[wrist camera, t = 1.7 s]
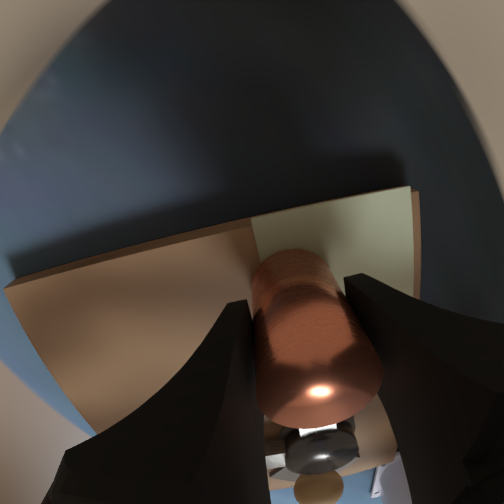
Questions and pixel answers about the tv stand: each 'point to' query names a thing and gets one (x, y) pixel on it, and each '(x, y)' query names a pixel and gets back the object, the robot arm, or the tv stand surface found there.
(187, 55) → the tv stand surface
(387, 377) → the robot arm
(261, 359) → the lever
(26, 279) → the light wood flat board
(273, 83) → the tv stand surface
